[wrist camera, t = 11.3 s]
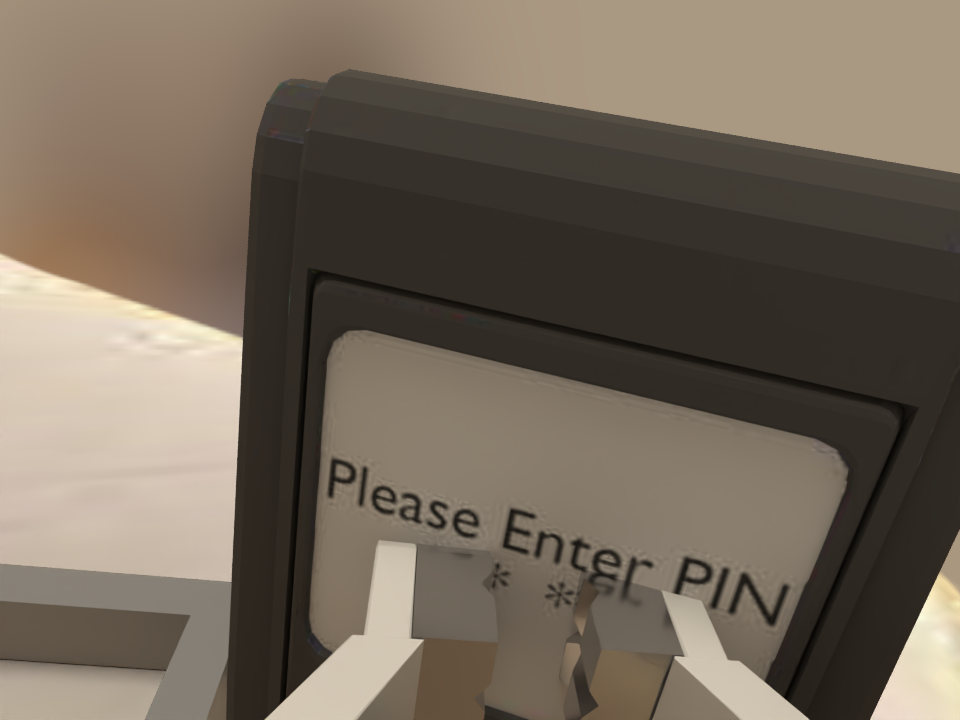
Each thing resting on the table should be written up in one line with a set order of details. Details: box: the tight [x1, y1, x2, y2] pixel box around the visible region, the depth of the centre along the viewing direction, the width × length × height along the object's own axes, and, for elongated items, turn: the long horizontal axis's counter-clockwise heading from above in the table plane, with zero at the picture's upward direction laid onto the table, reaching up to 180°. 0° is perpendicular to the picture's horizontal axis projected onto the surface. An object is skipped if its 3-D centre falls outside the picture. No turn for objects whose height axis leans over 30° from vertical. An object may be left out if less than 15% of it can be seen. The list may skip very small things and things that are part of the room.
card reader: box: [226, 69, 960, 720], centre depth 11 cm, size 9×4×15 cm, turn 75°
